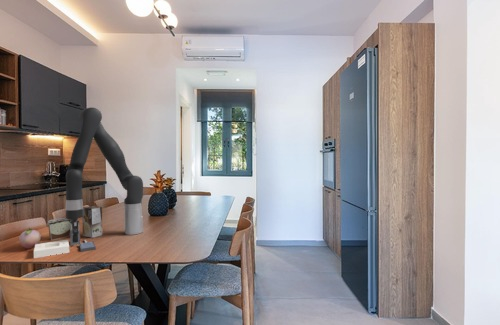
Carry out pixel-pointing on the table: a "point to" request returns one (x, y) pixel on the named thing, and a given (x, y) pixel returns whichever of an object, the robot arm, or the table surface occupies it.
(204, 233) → the table surface
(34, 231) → the decorative fruit
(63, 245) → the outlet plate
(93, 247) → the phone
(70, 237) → the charger
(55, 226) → the food container
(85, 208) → the coffee box
